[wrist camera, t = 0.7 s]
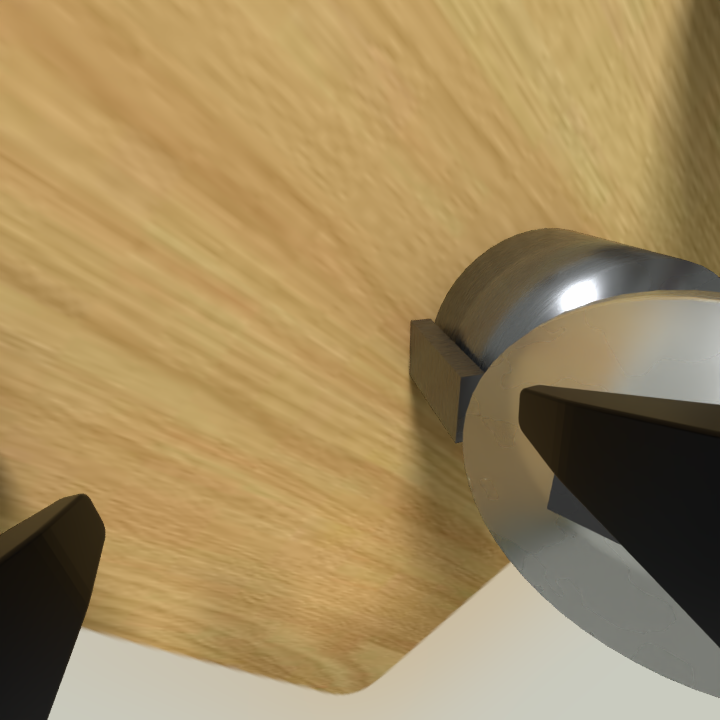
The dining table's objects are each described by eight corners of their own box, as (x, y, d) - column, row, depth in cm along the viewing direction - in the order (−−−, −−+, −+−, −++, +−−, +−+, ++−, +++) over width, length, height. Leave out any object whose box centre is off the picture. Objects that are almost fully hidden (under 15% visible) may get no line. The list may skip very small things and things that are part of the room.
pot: (407, 437, 24) (453, 525, 19) (413, 237, 20) (476, 274, 14) (598, 408, 27) (691, 479, 21) (645, 221, 22) (784, 247, 16)
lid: (464, 533, 19) (438, 563, 18) (494, 258, 14) (461, 271, 12) (864, 771, 12) (872, 853, 10) (1269, 371, 6) (1394, 435, 5)
